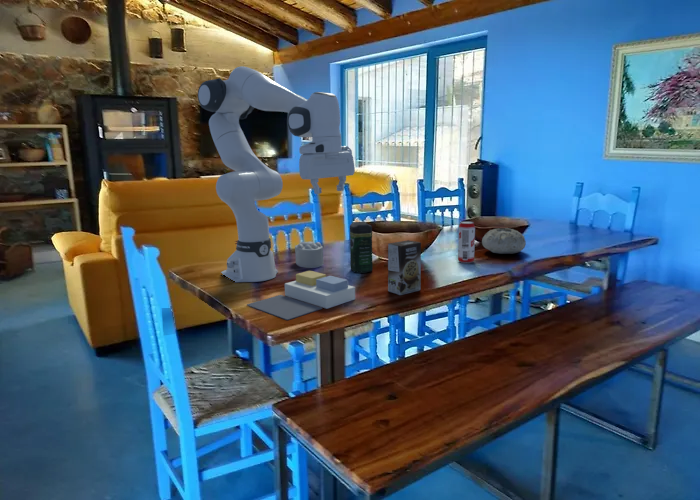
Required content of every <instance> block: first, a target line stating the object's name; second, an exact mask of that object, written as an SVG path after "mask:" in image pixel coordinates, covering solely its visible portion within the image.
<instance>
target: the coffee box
mask: <svg viewBox="0 0 700 500" xmlns="http://www.w3.org/2000/svg"><path fill="white" fill-rule="evenodd" d="M387 244H388V245H387V247H388V250H387V252H388V253H387V254H388V256H387V257H388V259H387V269H388V270H387V276H388V277H387V281H388V282H387V285H388V286H387V291H388V292H389V293H393V294H396V295H398V296H403V295H407V294H411V293H414V292H419V291H421V286H422V285H421V284H422V283H421V281H422V280H421V279H422V278H421V273H422V272H421V269H422V265H421V264H422V242H420V241H417V240H416V241H415V240H409V239H408V240H402V241H395V242H390V243H387Z"/></svg>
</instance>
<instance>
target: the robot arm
mask: <svg viewBox="0 0 700 500" xmlns="http://www.w3.org/2000/svg"><path fill="white" fill-rule="evenodd" d="M197 101H198V103H199V105H200V107H201V108H202V109H204V110H206V111H207V112H211V113H213V114H212V115H211V116H210V118H209V120H208V126H209V127H208V128H209V132H210V134H211V138H212V140H213V143H214V146H215V148H216V150H217V152H218V154H219V156H220V159H221V162H222V164H224V165H225V166H226V167H227V168H228V169H231V170H233V171H230V172H227V173H224V174H221V175H220V176H219V177H218V178H217V180H216V184H215V191H216V195H217V196H218V198H219V199H220V200H221V202H223V203H225V204H226V205H227V206H228V207H229V208H230V210H232V213H233V215H234V218H235V221H236V227H237V237H238V239H237V240H235V241H234V242H235V243H234V244H235V245H236V247H235V249H236V250H234V252H233V253H232V254H231V255H230V256H229V257H228V258H227V260H226V269H225V270H223V271H220V274H221V273H222V274H223V275H225V276H226V277H228V278H230V279H231V280H233V281H235V282H234V283H256V282H258V283H259V282H264V281H269V280H272V279H274V278H276V277H277V273H279V271H278V269H276V263H275V257H274V252H273V251H272V250H271V249H272V241H271V238H270V230H269V229H270V227H269V218H268V216H267V215H266V214H265V213H264V212H261V211H259V210H258V209H257V207H256V202H257V201H265V200H270V199H272V198H274V197H277V196H279V195H280V194H281V193H282V190H283V187H284V185H283V184H284V183H283V179H282V176H281V175H280V173H279V172H278V171H276V170H274V169H272V168H270V167H269V166H267V165H266V164H265V163H264V162H263V161H261V160H260V159H259V158H258V157H257V155H256V154H255V153H254V151H253V150H252V148H251V146H250V144H249V142H248V140H247V138H246V136H245V134H244V133H245V132H244V131H243V130H242V128H241V125H240V120H245V119H247V118H248V115H249V114H251V113H252V112H253V111H254V109H257V110H260V111H264V112H281V113H283V112H284V113H288V114H287V119H286V124H287V129H288V130H289V132H290V133H291V134H292V135H293V136H294V137H298V138H311V140H312V141H310V142H308V143H306V144H304V145H302V146H300V147H299V154H300V157H299V158H298V159H299V161H298V165H299V166H298V169H299V171H298V172H299V176H300V178H301V179H302V180H309V181H310V184H311V186H312V188H313V191H314V192H313V193H314V194H315V195H319V194H322V193H323V192H322V187H320V185H319V179H326V178H327V179H328V178H338V180H339V182H338V184H337V185H336V191H337V192H343V191H344V190H345V186H344V185H345V183H346V181H347V176H349V177H350V176H354V174H355V171H356V170H355V161H354V157H353V150H352V149H351V148H350V147H349V146H348V145H343V146H342V134H341V131H340V124H341V111H340V110H341V109H340V105H339V104H340V103H339V100H338V97H337V95H335V94H334V93H332V92H331V93H330V92H324V91H322V92H320V91H315V92H312V93H311V94H310V96H309V98H308V99H307V98H305V97H303V96H302V95H299V94H297V93H295V92H293V91H291V90H289V89H288V88H286V87H285V86H283V85H281V84H280V83H278V82H276V81H274V80H273V79H271V78H270V77H268V76H266V75H265V74H263V73H261V72H260V71H259V70H256V69H253V68H251V67H248V66H244V65H243V66H238V67H235V68H234V69H233V70H232V71H231V72H230V74H229V76H228V79H226V80H223V79H221V78H220V77H219V78H214V79H209V80H205V81H203V82H202V83H201V84H200V85H199V87H198V90H197ZM223 275H222V276H223ZM226 277H225V278H226ZM228 278H227V279H228ZM230 279H229V280H230ZM231 280H230V281H231ZM233 281H232V282H233Z"/></svg>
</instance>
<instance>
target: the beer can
mask: <svg viewBox="0 0 700 500" xmlns="http://www.w3.org/2000/svg"><path fill="white" fill-rule="evenodd" d="M457 238H458V240H457V241H458V245H457V251H458V252H457V259H458V262H459V263H460V262H461V264H472V263H473V262H474V261H475V245H476V244H475V243H476V242H475V241H476V226H475V224H474V221H469V220H467V221H466V220H465V221H464V220H463V221H460V223H459V225H458V237H457Z"/></svg>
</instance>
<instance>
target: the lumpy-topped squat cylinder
mask: <svg viewBox="0 0 700 500" xmlns="http://www.w3.org/2000/svg"><path fill="white" fill-rule="evenodd" d="M294 253H295V264H296V265H297V266H298V267H301V268H307V269H314V268H315V269H316V268H319V267H322V266H324V246H323V245H322V244H321V242H319V241H317V242H314V241H303V242H299V243H298V244H296V245H294Z"/></svg>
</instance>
